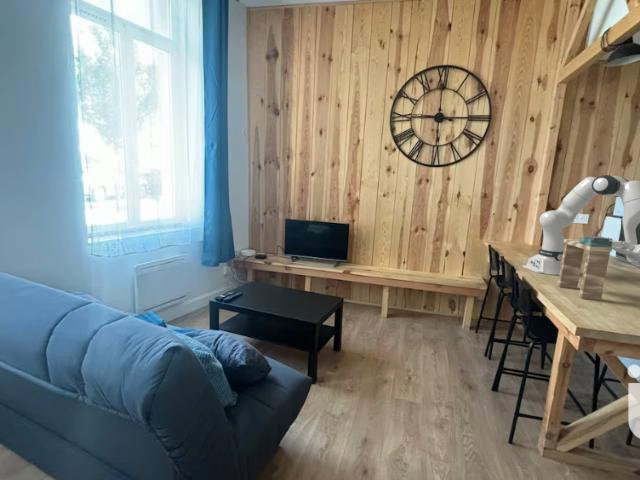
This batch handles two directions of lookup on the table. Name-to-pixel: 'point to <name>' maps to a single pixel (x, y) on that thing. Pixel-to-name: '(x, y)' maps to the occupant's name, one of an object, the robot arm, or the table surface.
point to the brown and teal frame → (592, 269)
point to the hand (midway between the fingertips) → (615, 240)
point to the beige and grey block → (614, 243)
